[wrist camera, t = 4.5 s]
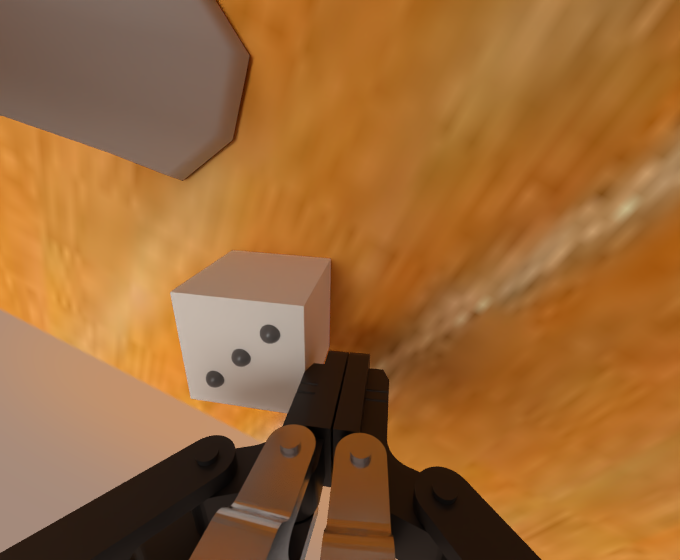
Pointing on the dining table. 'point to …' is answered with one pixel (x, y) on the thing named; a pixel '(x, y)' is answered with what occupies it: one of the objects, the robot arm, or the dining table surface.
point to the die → (253, 327)
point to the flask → (125, 76)
